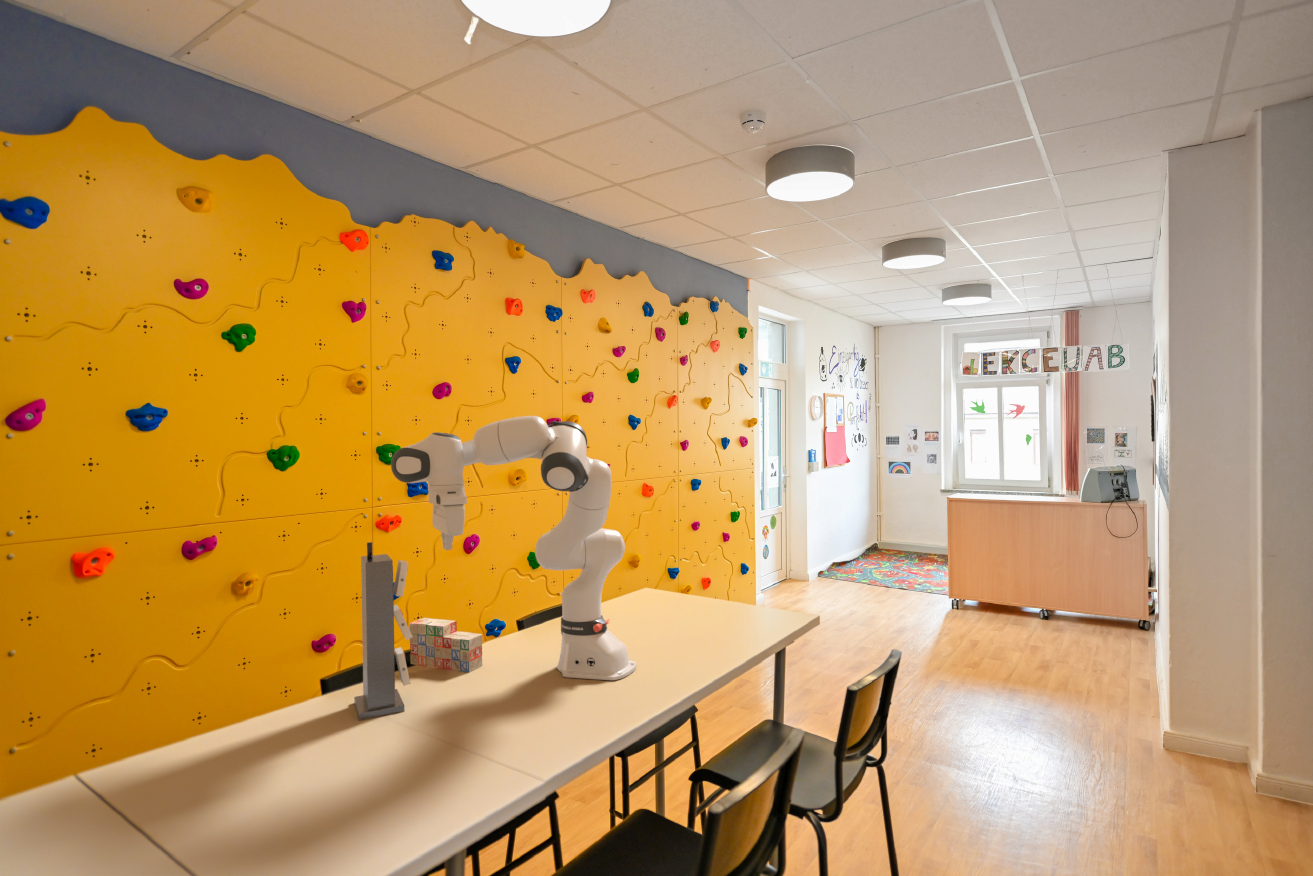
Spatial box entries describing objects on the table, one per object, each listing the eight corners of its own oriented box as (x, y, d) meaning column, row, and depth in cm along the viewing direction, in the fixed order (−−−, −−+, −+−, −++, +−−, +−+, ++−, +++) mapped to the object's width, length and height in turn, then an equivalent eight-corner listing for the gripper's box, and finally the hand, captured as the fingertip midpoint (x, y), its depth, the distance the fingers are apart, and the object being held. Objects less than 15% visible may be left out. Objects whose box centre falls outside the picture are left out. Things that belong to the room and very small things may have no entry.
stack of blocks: (483, 666, 192) (482, 623, 192) (469, 673, 187) (468, 629, 187) (424, 657, 201) (424, 616, 201) (409, 664, 195) (408, 622, 195)
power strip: (396, 694, 171) (394, 537, 171) (404, 711, 161) (401, 543, 161) (354, 702, 166) (351, 540, 166) (359, 720, 156) (356, 547, 156)
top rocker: (400, 592, 169) (405, 560, 169) (403, 596, 164) (409, 563, 165) (393, 592, 168) (398, 560, 168) (396, 596, 163) (401, 563, 164)
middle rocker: (410, 631, 170) (397, 603, 168) (413, 636, 165) (400, 608, 164) (403, 635, 169) (390, 607, 167) (406, 640, 164) (393, 612, 163)
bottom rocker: (407, 676, 169) (401, 646, 169) (411, 683, 165) (404, 652, 164) (400, 679, 169) (394, 649, 168) (403, 686, 164) (397, 655, 163)
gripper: (426, 493, 179) (427, 544, 179) (442, 499, 162) (443, 556, 162) (450, 492, 182) (451, 542, 183) (468, 497, 165) (469, 553, 165)
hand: (447, 549), depth 172 cm, fingers closed
